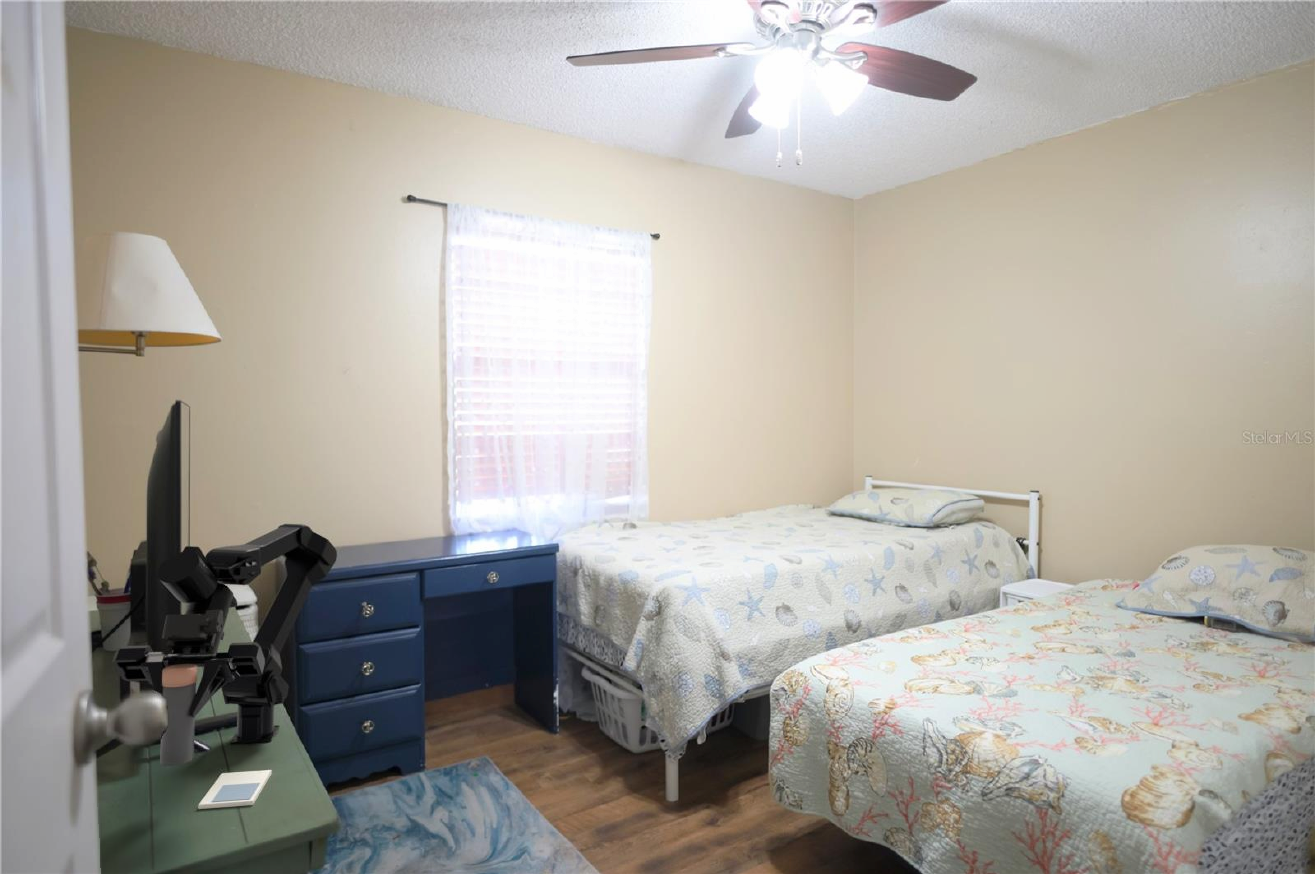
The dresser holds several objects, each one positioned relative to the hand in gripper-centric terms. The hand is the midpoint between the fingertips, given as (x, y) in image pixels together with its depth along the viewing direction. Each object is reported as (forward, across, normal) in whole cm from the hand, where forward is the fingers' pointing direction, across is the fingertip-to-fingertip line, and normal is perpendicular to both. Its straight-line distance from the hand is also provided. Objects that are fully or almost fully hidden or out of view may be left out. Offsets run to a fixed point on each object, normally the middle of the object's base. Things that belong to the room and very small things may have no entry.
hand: (174, 716), depth 105 cm
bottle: (+4, 0, +6) cm, 7 cm away
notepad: (+6, +7, +12) cm, 15 cm away
